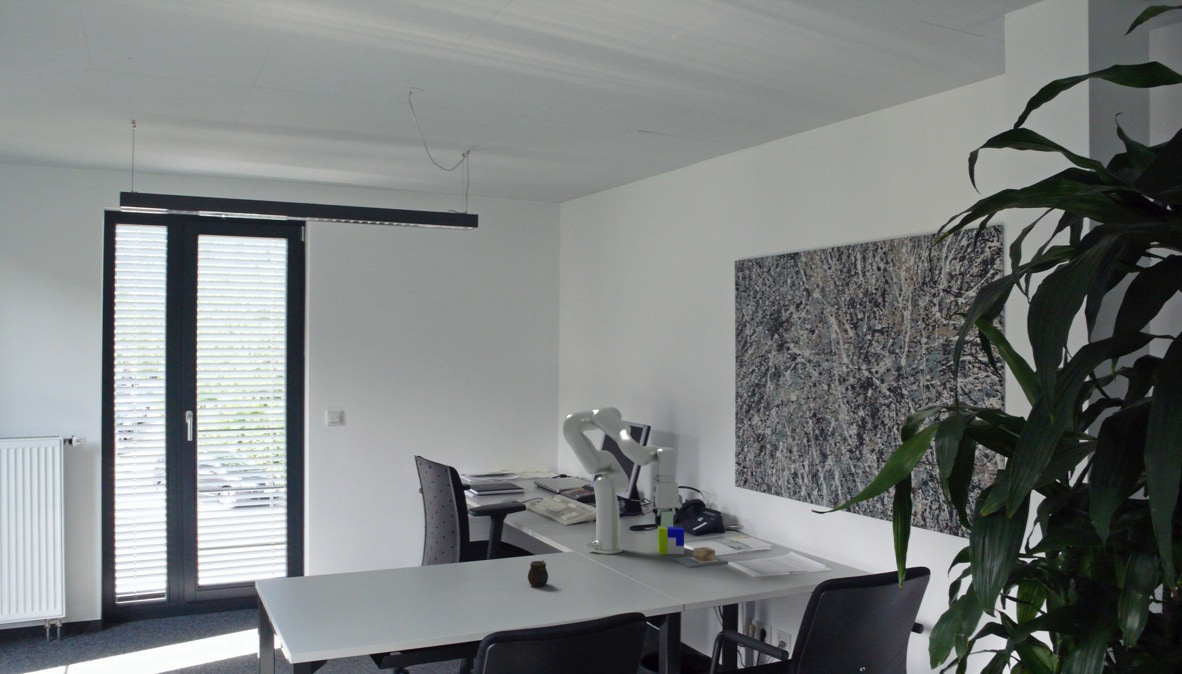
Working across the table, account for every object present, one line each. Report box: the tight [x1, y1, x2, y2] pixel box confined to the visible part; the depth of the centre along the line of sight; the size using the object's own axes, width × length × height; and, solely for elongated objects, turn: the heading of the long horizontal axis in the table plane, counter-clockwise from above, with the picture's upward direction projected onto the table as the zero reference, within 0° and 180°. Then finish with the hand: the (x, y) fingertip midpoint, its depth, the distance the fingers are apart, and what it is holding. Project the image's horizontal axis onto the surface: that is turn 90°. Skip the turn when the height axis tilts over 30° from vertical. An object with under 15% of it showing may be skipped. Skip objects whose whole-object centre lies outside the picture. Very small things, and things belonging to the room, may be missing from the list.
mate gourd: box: [527, 559, 549, 588], centre depth 308 cm, size 7×8×10 cm
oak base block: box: [693, 546, 716, 562], centre depth 342 cm, size 6×6×4 cm
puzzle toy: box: [657, 524, 685, 555], centre depth 360 cm, size 10×10×10 cm
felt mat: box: [674, 555, 729, 569], centre depth 342 cm, size 17×12×1 cm
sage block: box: [660, 508, 674, 527], centre depth 347 cm, size 5×5×6 cm
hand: (664, 524), depth 347 cm, fingers closed on sage block, 5 cm apart
